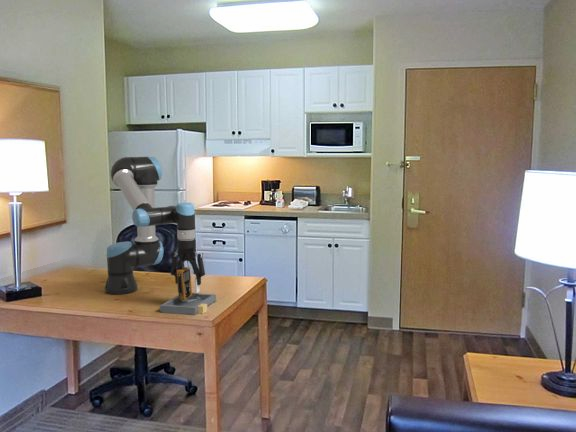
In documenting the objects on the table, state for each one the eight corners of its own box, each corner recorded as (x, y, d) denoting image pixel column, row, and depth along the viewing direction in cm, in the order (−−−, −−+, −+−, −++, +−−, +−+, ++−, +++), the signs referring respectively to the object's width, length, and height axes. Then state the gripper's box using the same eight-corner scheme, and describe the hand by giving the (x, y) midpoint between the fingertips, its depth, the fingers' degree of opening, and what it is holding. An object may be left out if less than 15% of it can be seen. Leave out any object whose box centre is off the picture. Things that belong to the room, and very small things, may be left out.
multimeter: (196, 303, 213) (192, 255, 211) (174, 302, 216) (170, 256, 214) (211, 294, 227) (207, 249, 225) (190, 293, 230) (187, 249, 228)
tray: (160, 312, 213) (159, 305, 213) (183, 298, 233) (183, 292, 233) (200, 315, 208) (200, 308, 208) (221, 301, 228) (221, 294, 228)
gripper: (160, 239, 217) (162, 292, 220) (204, 241, 211) (206, 295, 214) (169, 237, 224) (171, 288, 227) (212, 238, 218) (214, 290, 221)
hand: (188, 291), depth 220 cm, fingers open, 8 cm apart
